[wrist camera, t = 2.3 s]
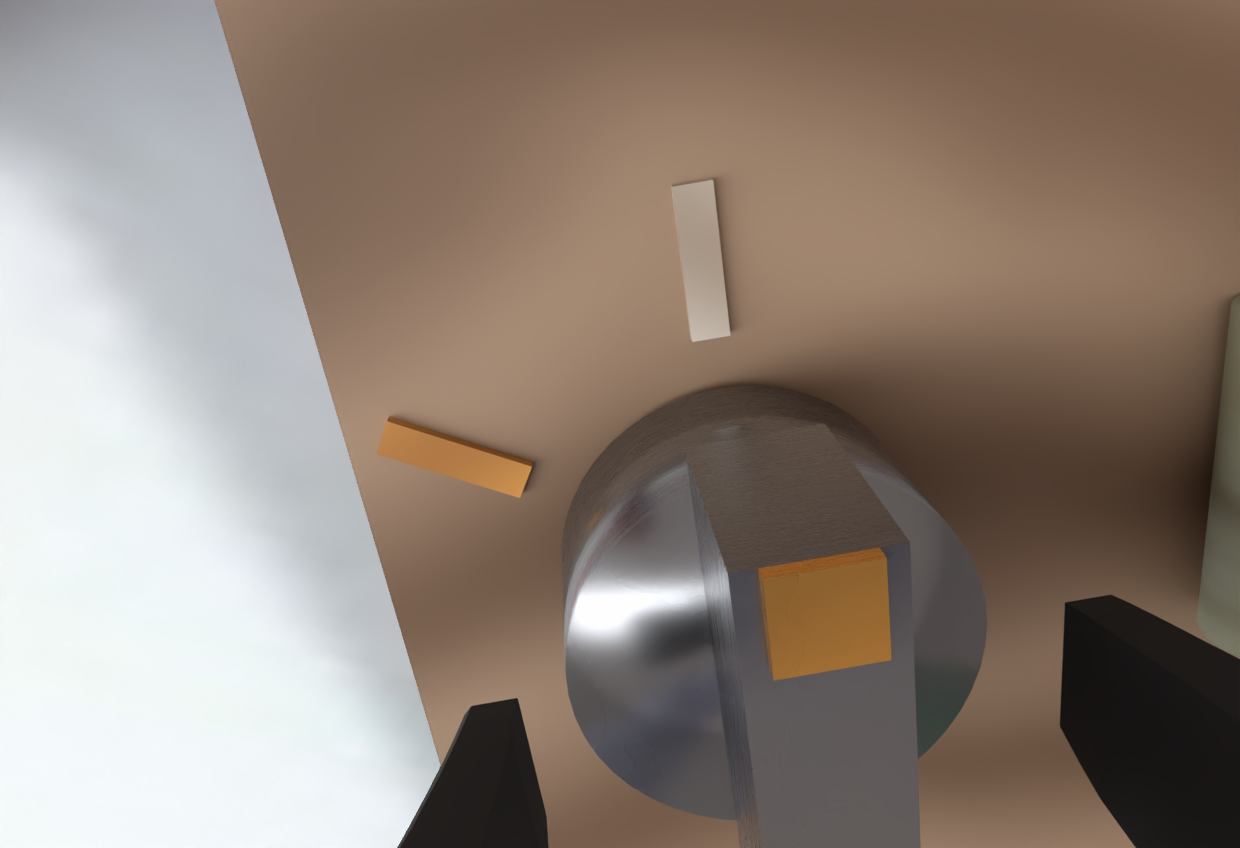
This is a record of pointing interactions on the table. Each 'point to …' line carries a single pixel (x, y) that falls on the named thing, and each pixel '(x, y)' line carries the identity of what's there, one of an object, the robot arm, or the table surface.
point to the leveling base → (774, 316)
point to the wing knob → (767, 619)
